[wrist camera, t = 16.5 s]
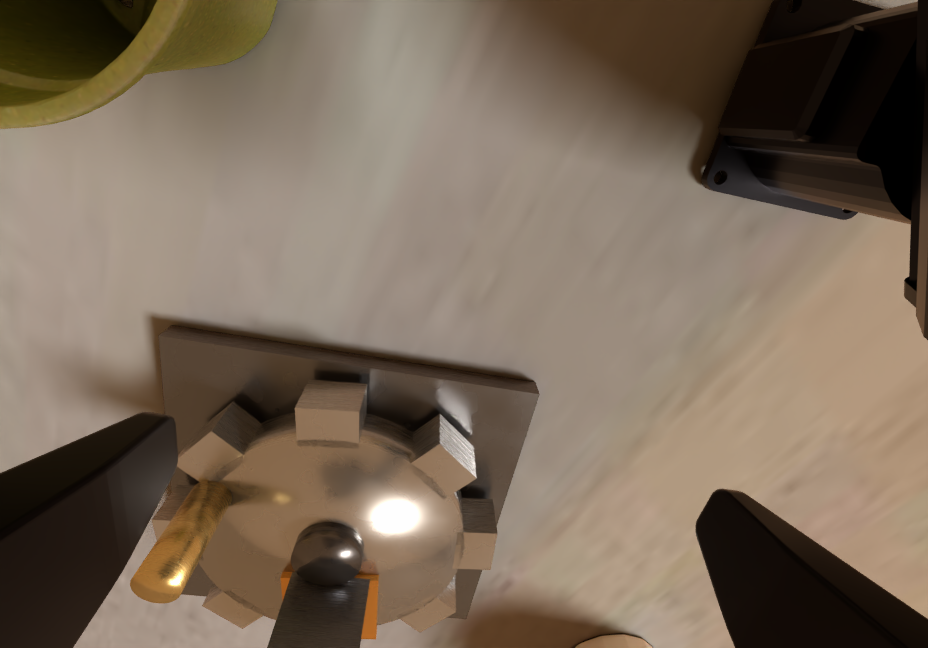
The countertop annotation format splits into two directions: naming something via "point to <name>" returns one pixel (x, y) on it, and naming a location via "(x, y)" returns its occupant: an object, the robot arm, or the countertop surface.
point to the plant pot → (111, 49)
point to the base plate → (388, 396)
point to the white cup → (615, 642)
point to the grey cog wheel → (322, 511)
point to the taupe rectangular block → (321, 615)
